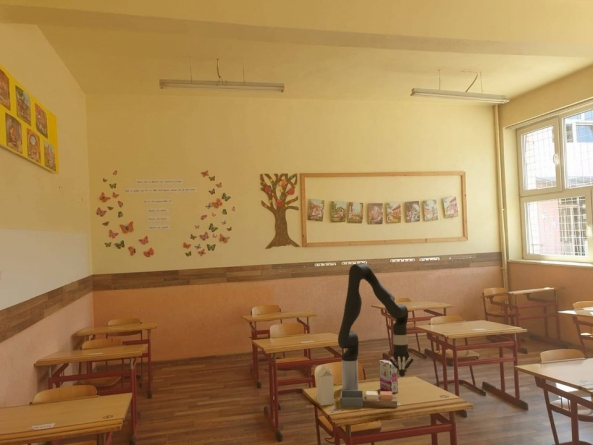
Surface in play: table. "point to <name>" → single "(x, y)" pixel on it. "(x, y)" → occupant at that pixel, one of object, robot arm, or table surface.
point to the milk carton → (325, 387)
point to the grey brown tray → (379, 402)
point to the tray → (351, 398)
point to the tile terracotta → (386, 395)
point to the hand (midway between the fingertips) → (402, 376)
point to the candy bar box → (388, 376)
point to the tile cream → (372, 395)
